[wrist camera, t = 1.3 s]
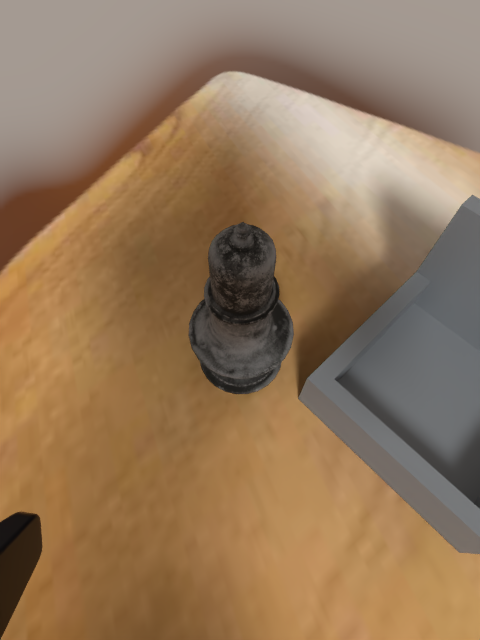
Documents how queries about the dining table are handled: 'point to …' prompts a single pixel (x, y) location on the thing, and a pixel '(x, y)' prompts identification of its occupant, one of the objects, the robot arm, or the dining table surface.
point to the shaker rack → (418, 386)
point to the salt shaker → (241, 313)
